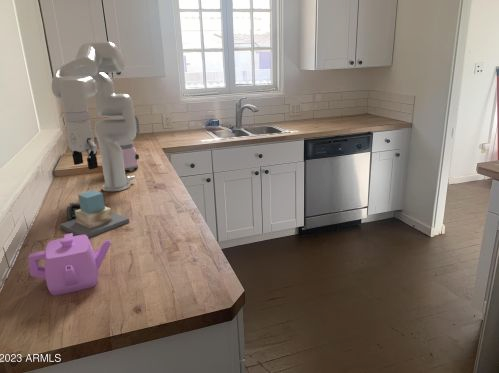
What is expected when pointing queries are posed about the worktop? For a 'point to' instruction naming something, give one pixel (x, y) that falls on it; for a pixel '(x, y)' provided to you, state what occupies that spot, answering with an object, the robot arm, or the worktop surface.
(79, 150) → the robot arm
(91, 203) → the teal block
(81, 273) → the teakettle
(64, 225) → the stacking base
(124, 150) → the blender
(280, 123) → the worktop surface
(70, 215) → the chocolate cake
